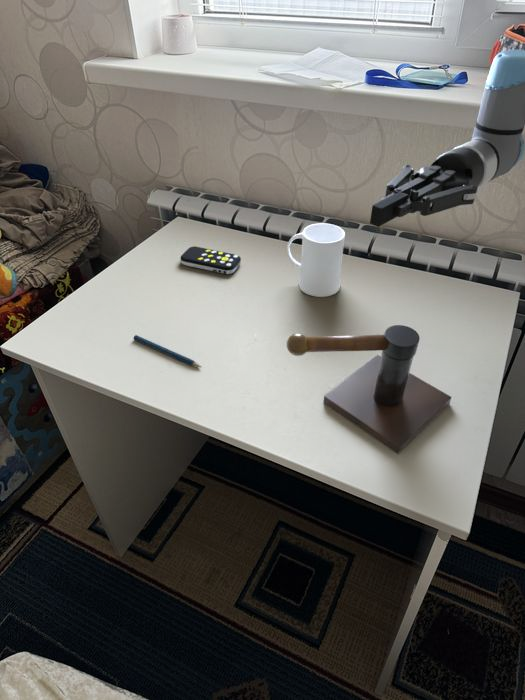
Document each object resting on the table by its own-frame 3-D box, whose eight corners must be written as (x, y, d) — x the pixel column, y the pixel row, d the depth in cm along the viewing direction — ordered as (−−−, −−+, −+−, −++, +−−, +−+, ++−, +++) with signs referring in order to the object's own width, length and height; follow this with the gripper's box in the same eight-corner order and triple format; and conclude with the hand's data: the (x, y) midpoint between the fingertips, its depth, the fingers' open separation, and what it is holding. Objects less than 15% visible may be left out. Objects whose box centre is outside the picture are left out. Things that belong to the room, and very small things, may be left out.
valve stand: (449, 403, 80) (468, 350, 72) (398, 454, 72) (413, 400, 65) (376, 360, 87) (386, 309, 80) (323, 402, 80) (329, 349, 72)
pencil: (137, 337, 92) (203, 367, 86) (133, 340, 91) (200, 371, 85) (136, 334, 91) (203, 363, 85) (133, 337, 91) (200, 367, 85)
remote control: (191, 251, 115) (190, 243, 114) (243, 262, 112) (243, 254, 110) (178, 265, 111) (177, 257, 109) (231, 276, 107) (231, 268, 106)
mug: (277, 284, 105) (278, 231, 97) (298, 265, 111) (300, 214, 103) (328, 302, 100) (333, 248, 92) (347, 282, 106) (353, 229, 98)
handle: (410, 339, 74) (415, 322, 72) (419, 361, 71) (424, 344, 69) (285, 342, 74) (285, 325, 72) (287, 364, 70) (288, 347, 68)
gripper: (493, 205, 81) (410, 257, 69) (422, 182, 88) (336, 225, 76) (507, 157, 76) (422, 204, 64) (431, 137, 84) (341, 176, 71)
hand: (375, 216), depth 70 cm, fingers closed
